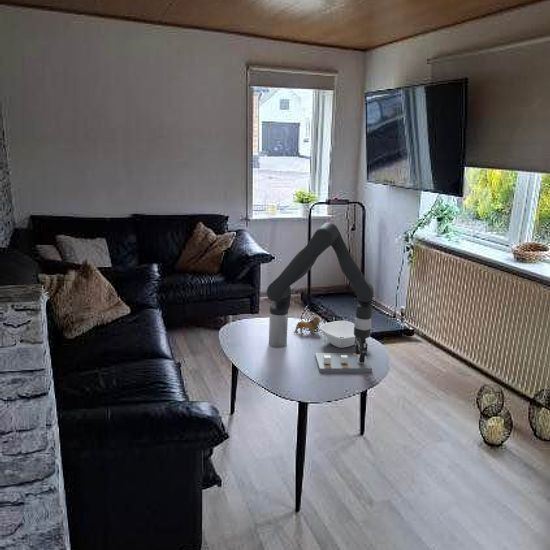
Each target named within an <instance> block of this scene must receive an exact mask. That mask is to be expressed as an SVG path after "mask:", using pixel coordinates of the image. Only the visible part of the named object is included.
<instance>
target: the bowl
mask: <svg viewBox="0 0 550 550" xmlns="http://www.w3.org/2000/svg"><path fill="white" fill-rule="evenodd" d="M354 324H355V322H354V323H353V322H351V321H347V320H336V321H329V322H326V323H323V324H321V325H318V326H319V330H320V331H321V333H322V335H324V336H325V337H326V338H327V339H326V340H327V341H328V342H329V343H330V344H331V345H333V346H335V347H337V348H339V349H344V348H350V347H352V346H354V345H356V344H355V336H354ZM340 337H344V338H340Z"/></svg>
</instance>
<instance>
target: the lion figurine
mask: <svg viewBox="0 0 550 550" xmlns="http://www.w3.org/2000/svg"><path fill="white" fill-rule="evenodd" d="M320 318H321V317H319V316H317V315H316V316H314V317H313V318H312V319H311V320H309V321H303V320H301V321H299V322H298V323H297V324H296V327H295V330H294V332H293V334H295V333H298V332H299V333H300V334H301V335H305V334H304V332H303V329H309V332H310V333H311V334H312V335H315V329H317V328H318V326H320V322H321V320H320ZM298 330H299V331H298Z"/></svg>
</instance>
